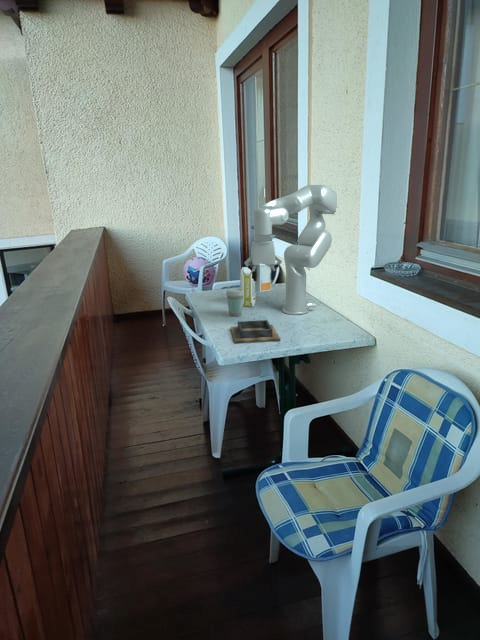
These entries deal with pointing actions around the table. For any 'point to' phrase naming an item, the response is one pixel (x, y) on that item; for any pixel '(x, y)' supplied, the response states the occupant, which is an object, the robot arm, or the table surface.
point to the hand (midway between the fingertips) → (263, 279)
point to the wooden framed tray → (254, 332)
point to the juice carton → (247, 287)
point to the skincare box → (263, 278)
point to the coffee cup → (235, 301)
